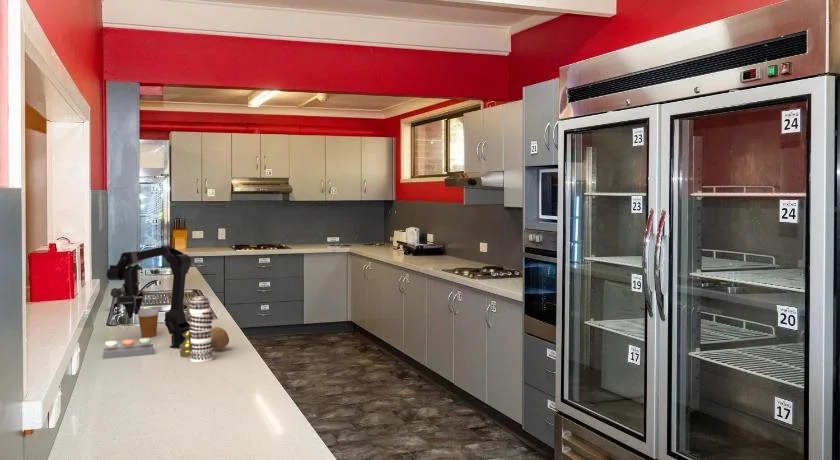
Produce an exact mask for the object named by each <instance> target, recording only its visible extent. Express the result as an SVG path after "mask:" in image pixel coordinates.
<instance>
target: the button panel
mask: <svg viewBox="0 0 840 460" xmlns="http://www.w3.org/2000/svg"><path fill="white" fill-rule="evenodd" d="M154 354H155V353H154V344H153V343H150V344H145V345H141V344H138V345H132V346H116V347H110V348H108V347H104V348H103V352H102V356H103V357H102V358H103V359H104V360H106V359H116V358H127V357H140V356H149V355H151V356H152V355H154Z"/></svg>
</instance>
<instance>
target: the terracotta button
mask: <svg viewBox="0 0 840 460" xmlns="http://www.w3.org/2000/svg"><path fill="white" fill-rule="evenodd" d="M121 341H122V347H124V346H135V339H134V338H126V339H122V340H121Z"/></svg>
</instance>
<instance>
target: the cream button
mask: <svg viewBox="0 0 840 460" xmlns="http://www.w3.org/2000/svg"><path fill="white" fill-rule="evenodd" d="M104 343H105V345H104V346H105V347H104V348H112V347H118V340H115V339H113V340H106V341H105V342H104Z"/></svg>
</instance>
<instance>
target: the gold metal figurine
mask: <svg viewBox="0 0 840 460" xmlns="http://www.w3.org/2000/svg"><path fill="white" fill-rule="evenodd" d="M182 335H183V336H184V337H185V341H184V342H183V343H182V344H180V348H179V349H180V350H179V356H180V357H181V358H191V357H190V356H191V353H190V351H191V350H192V349H190V347H191V345H190V343H191V332H190V331H186V332H184V333H183V334H182Z"/></svg>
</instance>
